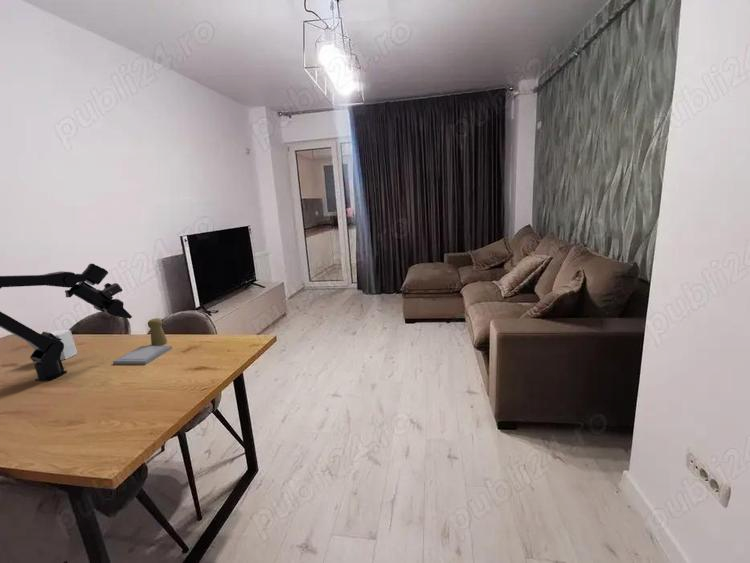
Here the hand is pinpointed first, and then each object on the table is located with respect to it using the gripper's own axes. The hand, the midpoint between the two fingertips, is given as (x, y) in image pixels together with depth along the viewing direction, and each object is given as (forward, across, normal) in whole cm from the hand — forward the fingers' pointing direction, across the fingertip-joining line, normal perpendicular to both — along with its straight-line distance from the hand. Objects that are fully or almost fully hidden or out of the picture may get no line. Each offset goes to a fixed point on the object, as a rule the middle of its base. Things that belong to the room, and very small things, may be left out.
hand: (127, 316), depth 151 cm
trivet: (+10, -14, +10) cm, 20 cm away
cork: (+16, -6, +4) cm, 17 cm away
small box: (-3, +17, +25) cm, 30 cm away
